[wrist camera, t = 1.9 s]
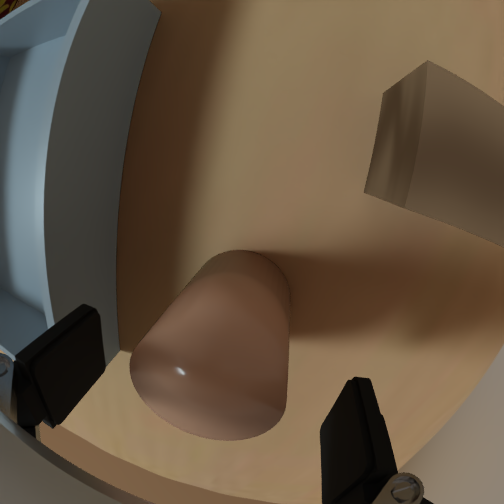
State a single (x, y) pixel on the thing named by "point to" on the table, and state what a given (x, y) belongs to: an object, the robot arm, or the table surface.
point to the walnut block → (441, 152)
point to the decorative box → (6, 7)
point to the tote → (65, 158)
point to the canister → (220, 351)
